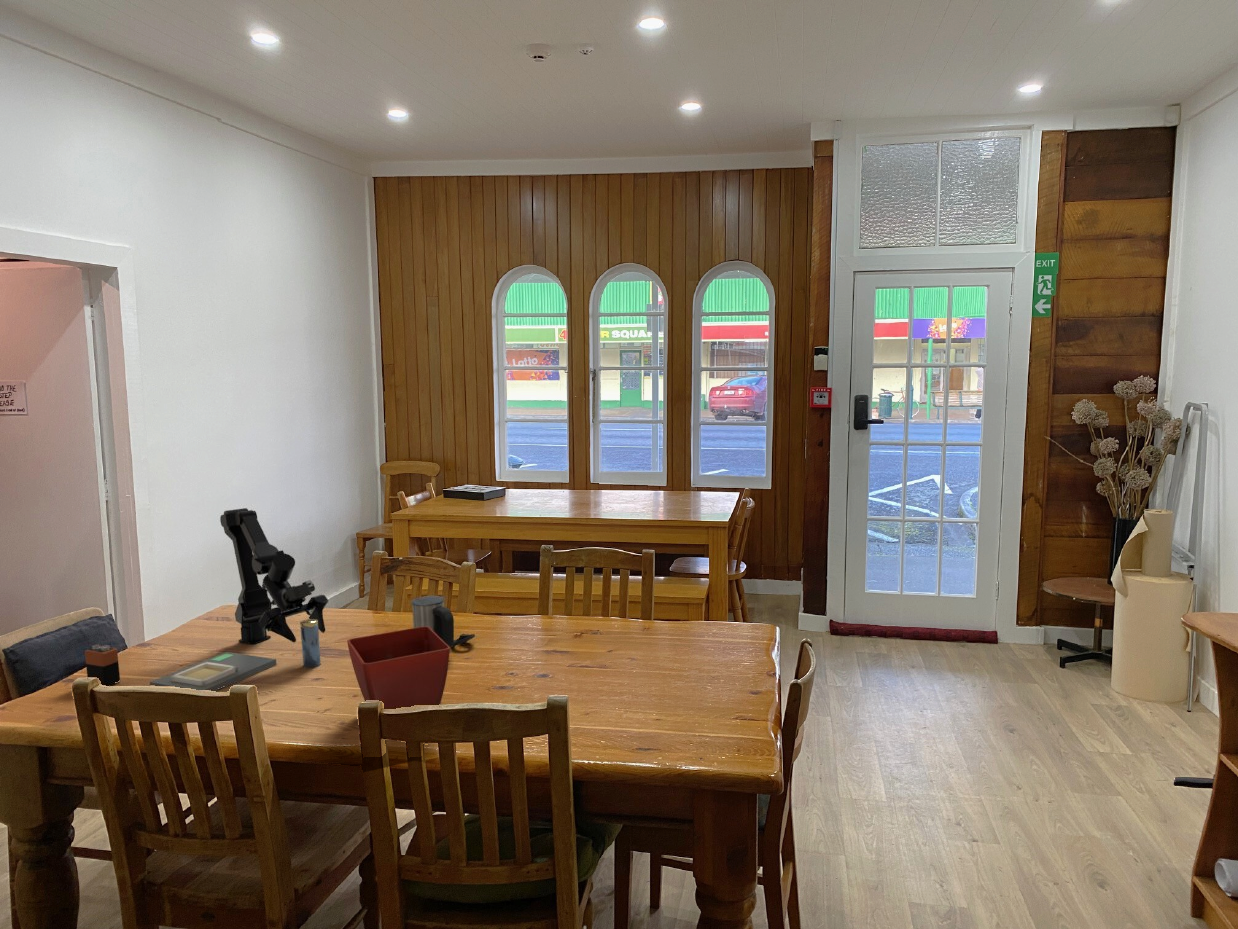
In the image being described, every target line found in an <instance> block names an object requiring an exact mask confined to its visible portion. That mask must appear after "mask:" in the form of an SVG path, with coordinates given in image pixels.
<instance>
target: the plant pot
mask: <svg viewBox="0 0 1238 929" xmlns="http://www.w3.org/2000/svg"><path fill="white" fill-rule="evenodd" d="M346 643H347V648H348V652H349V657H350V661H351V664H352V667H353V668H352V669H353V671H354V675H355V677H356V681H357V683H358V687H359V690H360V692H361V695H362V697H363V700H364V702H365V701H366V700H379V701H382V702H383V703H384V709H396V708H401V707H411V706H414V705H439V704H440V705H441V702H442V699H443V695H444V692H445V691H444V690H445V687H446V682H447V676H448V671H449V661H450V653H451V652H450V650H451V648H450V647H449V646H448V645H447V644H446V643H445V642H444V641H443V640H442V639H441V638H440V637H439V636H438V635H437V634H436V633H435V632H434V631H433V630H432V629H431V628H430V627H428V626H423V627H417V628H414V627H411V628H406V629H400V630H395V631H388V632H383V633H377V634H369V635H365V636H359V637H354V638H349V639H347V641H346Z"/></svg>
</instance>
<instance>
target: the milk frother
mask: <svg viewBox="0 0 1238 929" xmlns="http://www.w3.org/2000/svg"><path fill="white" fill-rule="evenodd" d="M445 600H446V599H445V597H444V596H439V595H427V596H420V597H417V598H414V599H412V600H411V601H410V603H411V610H412V623H413V624H412V625H413V628H417V627H423V626H428V627H430V628H431V629H432V630H433V631H434V632H435V633H436V634H437V635H438V636H439V637H440V638H441V639H442V640H443V641H444V642H445V643H446V644H447V645H448V646H449V647H450V649H451V648H453V647H455V646H458V645H460V644H463V645H464V644H466V643H467V642H468V641H470V640H472V639H474V638H475V637H476V634H475V633H471V634H468V633H462V634H459V636H458V637H457V638H456V639H455V625H454V624H455V619H454V616H453V613H452V611H451V610H450V609H449V608H448V607H446V606H445Z"/></svg>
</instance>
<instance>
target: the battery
mask: <svg viewBox="0 0 1238 929" xmlns="http://www.w3.org/2000/svg"><path fill="white" fill-rule="evenodd" d="M118 654H119V653H118V649H117V648H116V647H111V646H110V645H109V644H108V645H99V644H94V645H92V648H89V649H86V650H85V651H84V655H85V656H84V657H85V666H86V676H87V677H97V678H99V680H100V681H101V684H102V685H106V686H109V685H111V686H114V685H116V684H115V682H118V681H119V680H120V681H121V676H120V666H119V656H118ZM87 677H86V678H87ZM109 687H110V686H109Z"/></svg>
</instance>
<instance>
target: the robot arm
mask: <svg viewBox="0 0 1238 929" xmlns="http://www.w3.org/2000/svg"><path fill="white" fill-rule="evenodd" d="M219 517H220V518H219V519H220V520H219V521H220V525H221V527H222V528H223V530H224V534H225V535H226V536H227V537H228V538H229V539H230V540H231V541H232V546H233V550H234V554H235V559H236V563H237V564H236V565H237V569H238V570H237V571H238V574H239V580H240V584H241V591H240V593H239V596H238V598H237V600H238V604H237V606H236V610H235V612H234V618H235V622H237V623H239V624H240V635H241V636H240V637H241V638H240V639H238V642H239V643H244V644H252V645H256V644H259V643H260V642H263V641H265V640H268V639H270V638H271V639H272V636H271V635H268V634H267V632H272V633H274V634H276V635H279V636H281V637H283V638H284V639H286V640H288V641H290V642H292V643H296V641H297V638H296V636H295V635H294V633H293V631H292V629H291V627H290V626H289V625H288V623H287V619H286V618H289V617H292V616H294V615H295V616H296V615H299V614H302V613H304V612H305V613H306V615H308V619H317V620H318V630H319V631H320V632H321V633H322V634H324V633H325V632H326V626H325V621H324V613H323V612H324V609H325V607H326V606H327V604H328V603H329V599H328V598H327V596H326V595H325V594H319V595H315V596H312V593H313V592H314V591H316V587H315V584H314V583H313V582H312V581H311V579H309V580H305V581H303V582H302V583H301V584H299V585H293V586H291V584H290V582H289V580H290V578H291V575H292V573H293V571H294V568H295V565H296V560H295V558H294V557H293V556H291V555H290V554H288V553H285V551H284V550H283V549H282V550H279V549H278V547H276V546H275V545H273V544H270V542H269V540H268V538H267V537H266V534H265V531H264V530H263V529H262V526H261V524H260V522H259V520H258V513H257V512H256V511H255V510H253V509H251V510H249V509H248V508H247V507H244V508H236V509H229V510H224V512H223V514H221V515H220V516H219ZM260 575H262V576H263V575H265V576H264V578H262V584H261V585H260V583H259V577H258V576H260ZM268 595H269V596H270V597H271V599H270V597H269V596H268ZM308 596H311V597H310V599H309V600H308V602H306V600H307V599H306V597H308ZM271 600H272V601H271ZM305 602H306V603H305ZM303 603H304V604H303ZM272 606H276V607H274V608H272Z"/></svg>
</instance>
